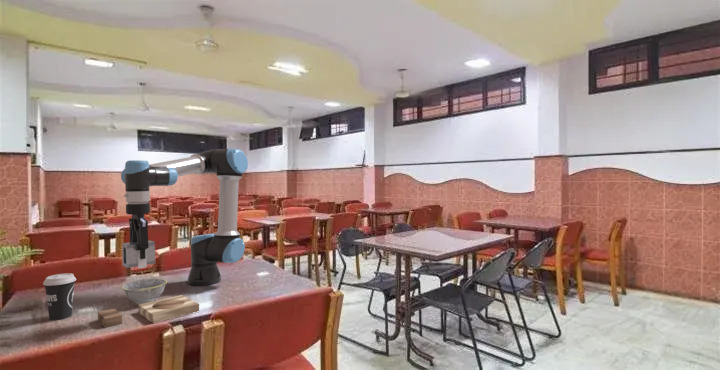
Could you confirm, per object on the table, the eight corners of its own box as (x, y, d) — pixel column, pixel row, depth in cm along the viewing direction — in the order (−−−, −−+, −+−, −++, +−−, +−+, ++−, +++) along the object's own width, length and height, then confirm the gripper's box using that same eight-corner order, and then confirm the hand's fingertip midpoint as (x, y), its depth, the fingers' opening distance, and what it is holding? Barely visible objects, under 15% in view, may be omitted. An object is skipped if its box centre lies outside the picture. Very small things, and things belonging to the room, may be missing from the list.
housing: (149, 261, 144) (149, 240, 144) (155, 263, 140) (154, 242, 140) (122, 265, 138) (122, 243, 137) (127, 268, 134) (126, 245, 133)
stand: (97, 320, 136) (97, 311, 136) (114, 316, 139) (113, 308, 139) (105, 327, 129) (105, 319, 129) (122, 323, 133) (121, 315, 132)
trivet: (138, 312, 143) (138, 304, 143) (182, 302, 155) (182, 294, 155) (153, 323, 132) (153, 314, 132) (199, 311, 144) (199, 303, 144)
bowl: (135, 311, 145) (135, 291, 145) (114, 304, 154) (114, 285, 153) (175, 299, 159) (174, 281, 159) (153, 293, 167) (153, 276, 167)
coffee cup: (56, 312, 144) (55, 273, 143) (82, 311, 144) (82, 272, 144) (36, 322, 134) (35, 280, 134) (65, 321, 135) (64, 279, 135)
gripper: (118, 202, 142) (120, 263, 143) (134, 204, 129) (135, 272, 130) (141, 201, 148) (142, 260, 148) (158, 203, 134) (159, 268, 135)
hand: (139, 266), depth 139 cm, fingers closed on housing, 6 cm apart
